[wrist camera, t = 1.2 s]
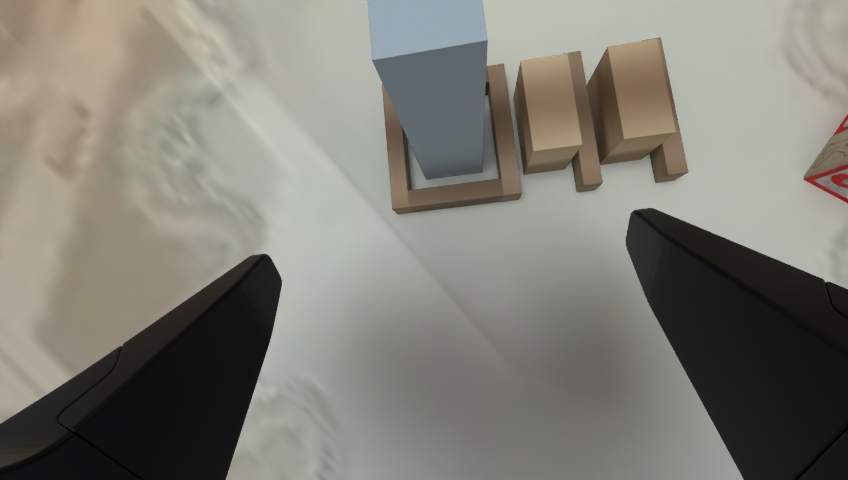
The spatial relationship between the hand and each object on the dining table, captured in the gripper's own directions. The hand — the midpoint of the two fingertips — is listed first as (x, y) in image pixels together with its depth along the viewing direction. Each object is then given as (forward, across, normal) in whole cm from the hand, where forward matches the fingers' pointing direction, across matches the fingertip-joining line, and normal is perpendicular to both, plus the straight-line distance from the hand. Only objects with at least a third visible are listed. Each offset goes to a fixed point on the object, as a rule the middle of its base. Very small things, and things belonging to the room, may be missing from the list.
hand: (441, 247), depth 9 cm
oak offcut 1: (+15, -6, +4) cm, 17 cm away
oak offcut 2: (+15, -10, +4) cm, 19 cm away
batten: (+15, 0, +4) cm, 16 cm away
